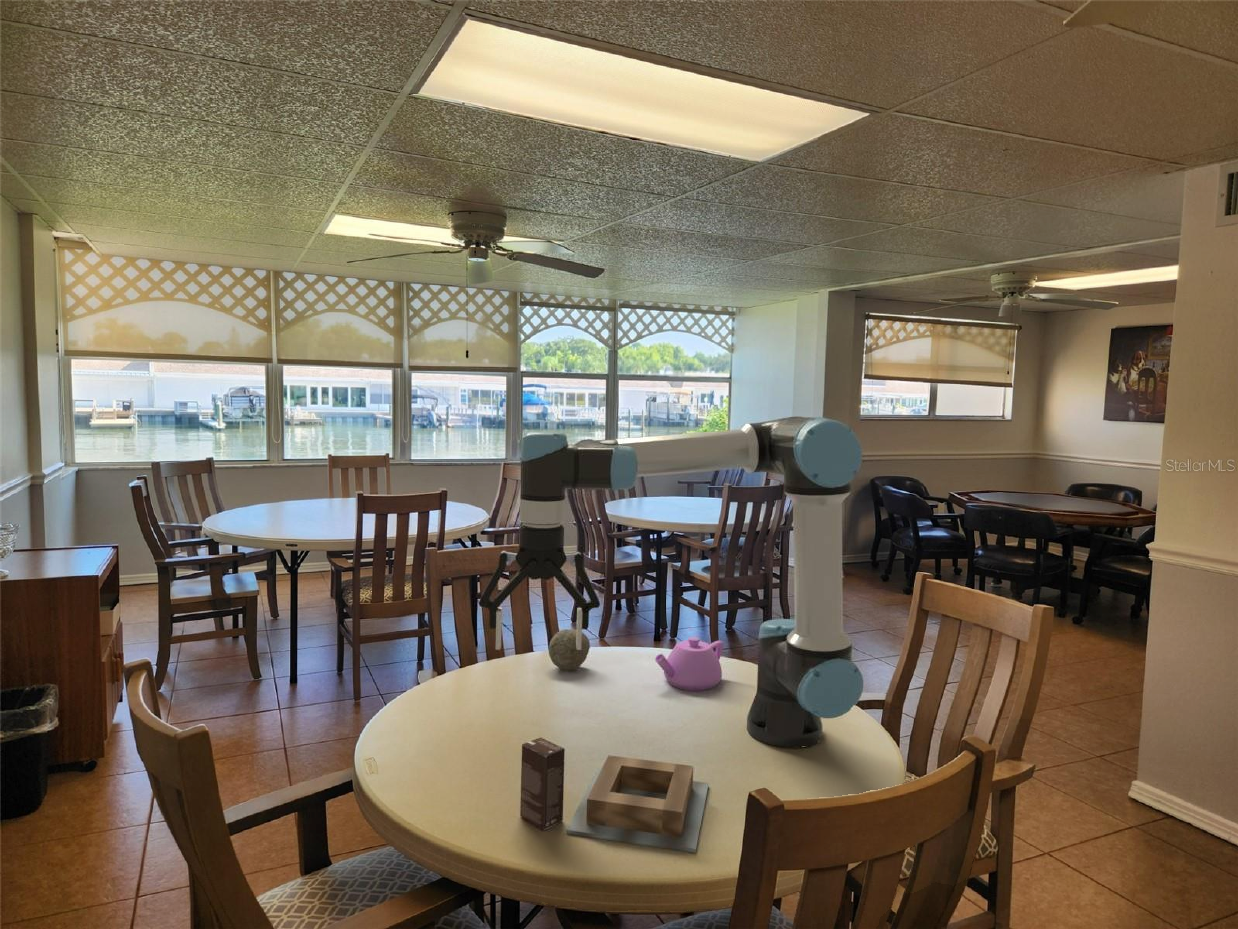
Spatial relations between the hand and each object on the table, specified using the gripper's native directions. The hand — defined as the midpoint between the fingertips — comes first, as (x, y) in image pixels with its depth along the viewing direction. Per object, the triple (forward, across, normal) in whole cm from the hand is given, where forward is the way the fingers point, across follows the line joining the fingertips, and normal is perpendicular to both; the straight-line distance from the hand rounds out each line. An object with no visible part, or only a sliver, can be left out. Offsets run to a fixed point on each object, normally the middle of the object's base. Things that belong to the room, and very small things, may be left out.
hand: (538, 647), depth 128 cm
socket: (+24, -18, +8) cm, 31 cm away
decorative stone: (+25, -7, -56) cm, 62 cm away
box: (+25, -1, +10) cm, 27 cm away
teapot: (+24, -36, -47) cm, 64 cm away
